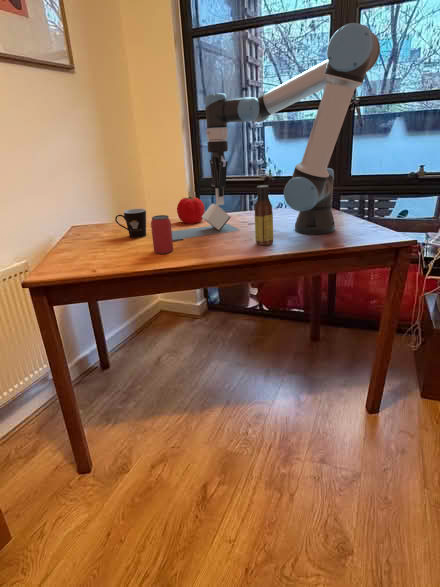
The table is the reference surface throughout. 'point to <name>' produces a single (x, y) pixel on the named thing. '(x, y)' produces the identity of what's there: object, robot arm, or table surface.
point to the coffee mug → (135, 222)
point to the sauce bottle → (263, 217)
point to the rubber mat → (200, 232)
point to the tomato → (190, 210)
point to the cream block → (216, 216)
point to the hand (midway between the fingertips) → (220, 204)
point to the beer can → (162, 234)
